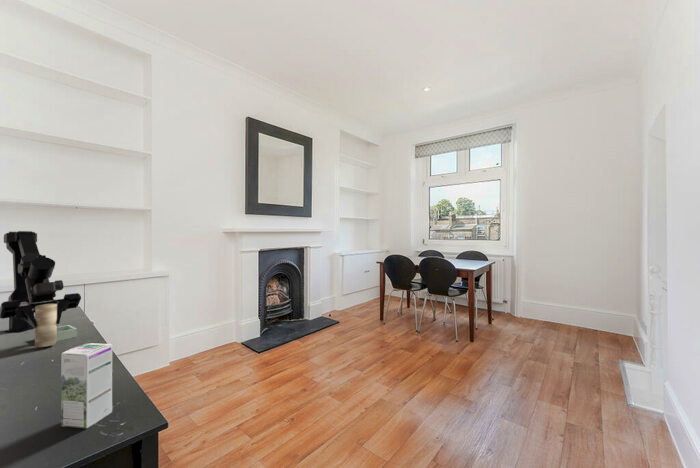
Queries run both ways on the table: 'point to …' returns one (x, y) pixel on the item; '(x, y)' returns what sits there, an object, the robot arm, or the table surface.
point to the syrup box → (86, 385)
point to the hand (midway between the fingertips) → (47, 325)
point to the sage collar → (66, 332)
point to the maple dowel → (46, 325)
